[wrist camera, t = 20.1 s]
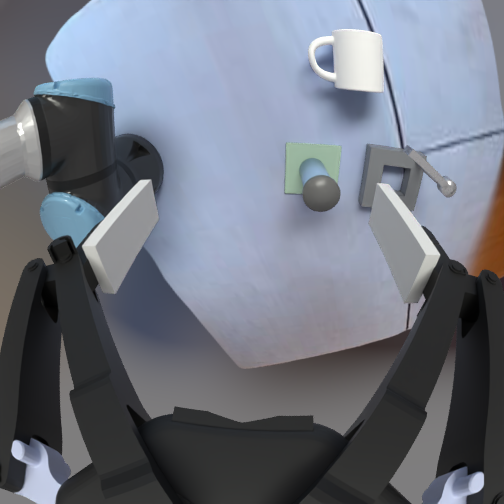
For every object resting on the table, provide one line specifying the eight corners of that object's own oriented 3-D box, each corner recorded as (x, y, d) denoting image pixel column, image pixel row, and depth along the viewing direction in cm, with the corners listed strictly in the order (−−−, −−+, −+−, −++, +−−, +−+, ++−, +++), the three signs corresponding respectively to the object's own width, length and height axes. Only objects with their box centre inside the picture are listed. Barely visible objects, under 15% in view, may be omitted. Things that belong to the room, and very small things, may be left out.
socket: (358, 200, 52) (376, 234, 42) (367, 143, 45) (391, 166, 35) (409, 204, 51) (433, 237, 42) (420, 152, 44) (452, 176, 34)
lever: (452, 182, 35) (459, 187, 33) (443, 194, 36) (449, 200, 35) (410, 140, 32) (416, 144, 31) (399, 155, 34) (405, 159, 32)
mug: (372, 38, 32) (389, 34, 26) (373, 89, 38) (391, 94, 32) (303, 32, 34) (309, 25, 27) (307, 85, 40) (313, 88, 33)
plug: (296, 184, 51) (302, 211, 42) (296, 155, 47) (303, 177, 39) (326, 184, 50) (338, 211, 42) (328, 155, 47) (342, 178, 38)
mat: (284, 192, 52) (284, 193, 52) (286, 142, 46) (286, 143, 46) (335, 194, 52) (335, 195, 51) (340, 145, 46) (341, 146, 45)
